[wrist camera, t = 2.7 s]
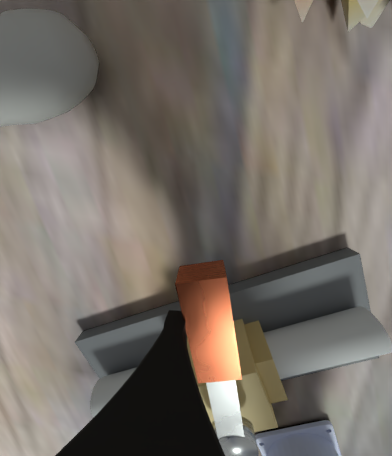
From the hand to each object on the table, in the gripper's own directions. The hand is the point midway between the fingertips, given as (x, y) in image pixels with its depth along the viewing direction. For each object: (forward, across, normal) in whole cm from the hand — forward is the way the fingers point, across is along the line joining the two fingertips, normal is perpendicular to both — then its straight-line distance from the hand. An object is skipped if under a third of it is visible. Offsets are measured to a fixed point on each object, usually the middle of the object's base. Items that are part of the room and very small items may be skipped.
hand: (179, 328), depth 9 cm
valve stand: (+7, -3, +8) cm, 11 cm away
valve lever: (+1, -2, +3) cm, 4 cm away
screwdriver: (+8, +17, -10) cm, 21 cm away
